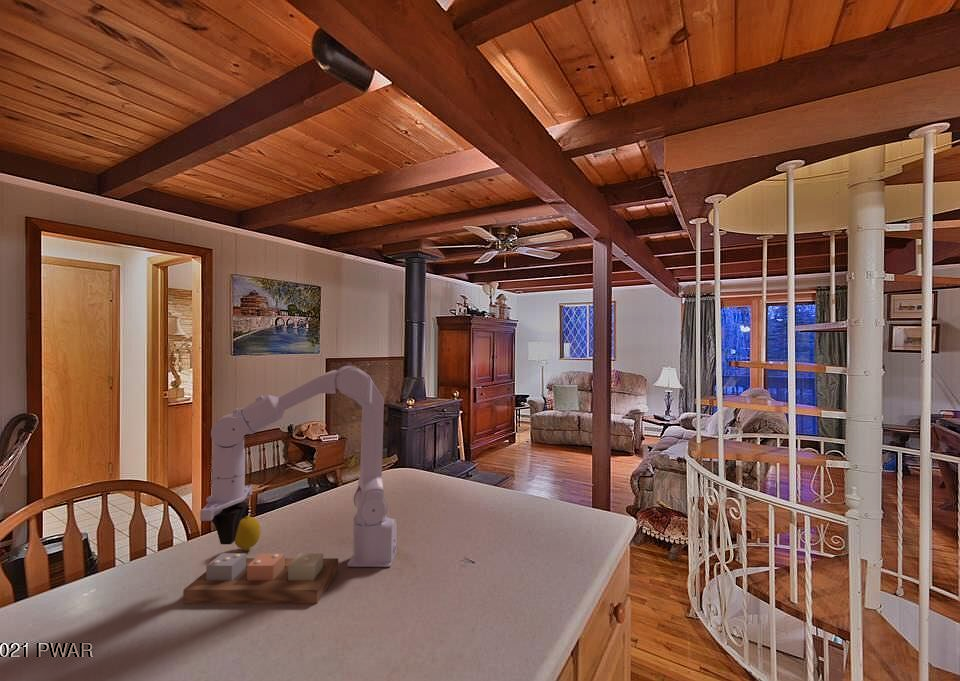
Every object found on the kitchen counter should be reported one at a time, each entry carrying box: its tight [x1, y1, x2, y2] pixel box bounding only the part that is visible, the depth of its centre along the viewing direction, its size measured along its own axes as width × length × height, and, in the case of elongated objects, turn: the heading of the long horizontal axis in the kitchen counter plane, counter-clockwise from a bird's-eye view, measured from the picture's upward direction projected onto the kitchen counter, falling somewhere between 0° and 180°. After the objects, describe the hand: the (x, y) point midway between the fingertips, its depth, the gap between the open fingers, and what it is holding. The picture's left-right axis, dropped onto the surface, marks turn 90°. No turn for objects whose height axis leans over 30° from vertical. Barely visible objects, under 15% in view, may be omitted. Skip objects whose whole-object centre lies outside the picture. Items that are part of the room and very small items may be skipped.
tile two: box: [247, 552, 286, 581], centre depth 86 cm, size 5×5×4 cm
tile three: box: [205, 552, 247, 580], centre depth 86 cm, size 5×5×4 cm
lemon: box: [234, 515, 261, 551], centre depth 100 cm, size 6×6×8 cm
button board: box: [182, 557, 339, 604], centre depth 85 cm, size 25×12×2 cm, turn 90°
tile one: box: [288, 552, 324, 581], centre depth 86 cm, size 5×5×4 cm
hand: (227, 542), depth 86 cm, fingers closed
